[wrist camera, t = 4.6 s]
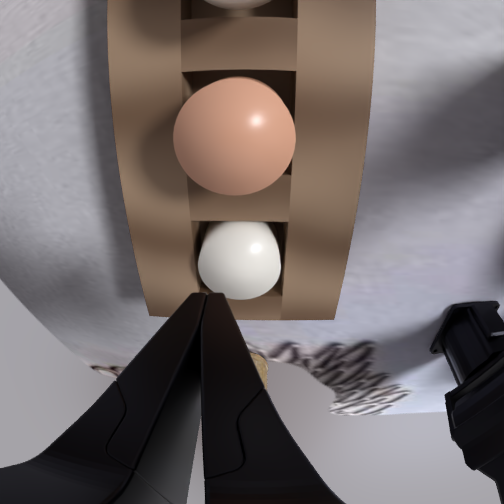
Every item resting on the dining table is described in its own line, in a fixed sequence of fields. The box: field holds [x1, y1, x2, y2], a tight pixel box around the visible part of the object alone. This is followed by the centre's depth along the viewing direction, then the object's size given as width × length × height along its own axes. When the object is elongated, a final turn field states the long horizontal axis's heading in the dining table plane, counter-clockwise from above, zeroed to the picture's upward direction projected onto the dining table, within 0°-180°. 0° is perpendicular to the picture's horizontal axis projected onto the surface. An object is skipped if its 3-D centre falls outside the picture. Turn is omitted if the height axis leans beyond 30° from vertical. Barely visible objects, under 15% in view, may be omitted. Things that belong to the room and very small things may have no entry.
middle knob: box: [173, 76, 296, 196], centre depth 12 cm, size 4×4×3 cm
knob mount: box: [107, 0, 376, 320], centre depth 15 cm, size 24×12×4 cm, turn 179°
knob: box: [198, 221, 281, 300], centre depth 19 cm, size 4×4×3 cm
